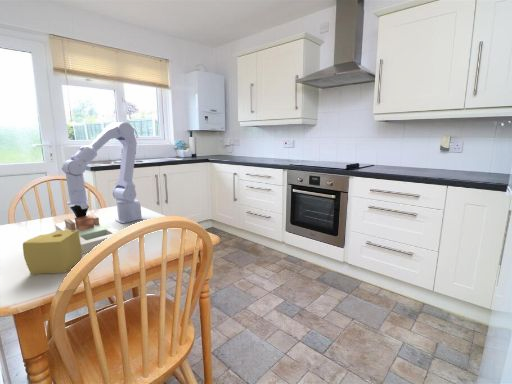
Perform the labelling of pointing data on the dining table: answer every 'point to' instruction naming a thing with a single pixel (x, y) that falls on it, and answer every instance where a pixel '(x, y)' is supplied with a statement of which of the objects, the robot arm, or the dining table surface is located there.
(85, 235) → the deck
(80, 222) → the block
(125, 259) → the dining table surface
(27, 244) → the cheese
